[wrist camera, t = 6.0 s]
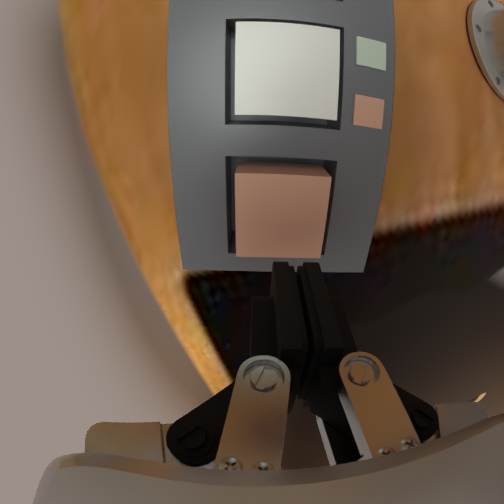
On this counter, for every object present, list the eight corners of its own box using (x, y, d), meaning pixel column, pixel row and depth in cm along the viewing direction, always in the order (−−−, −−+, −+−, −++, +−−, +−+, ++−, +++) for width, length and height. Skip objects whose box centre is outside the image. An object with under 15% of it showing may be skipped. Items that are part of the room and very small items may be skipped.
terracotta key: (320, 164, 18) (331, 177, 15) (312, 236, 21) (320, 258, 18) (238, 161, 18) (234, 173, 15) (238, 235, 21) (236, 256, 18)
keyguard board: (363, -47, 10) (383, -68, 6) (348, 243, 24) (363, 273, 20) (192, -57, 10) (179, -82, 6) (194, 240, 25) (182, 270, 21)
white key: (327, 39, 13) (339, 29, 11) (324, 116, 16) (336, 120, 13) (239, 33, 13) (235, 21, 11) (238, 112, 16) (234, 114, 14)
